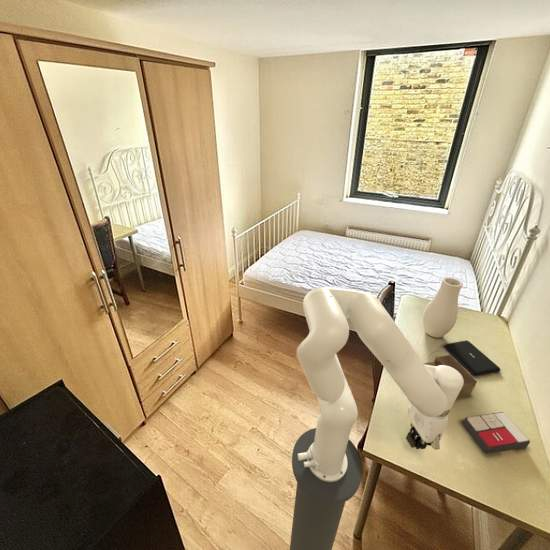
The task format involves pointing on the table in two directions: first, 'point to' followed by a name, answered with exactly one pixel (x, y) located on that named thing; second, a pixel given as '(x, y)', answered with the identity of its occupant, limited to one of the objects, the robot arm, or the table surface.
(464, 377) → the wooden stair steps
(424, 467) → the table surface
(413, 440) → the clip
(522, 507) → the table surface
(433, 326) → the vase
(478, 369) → the laptop
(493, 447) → the red grey flat block
